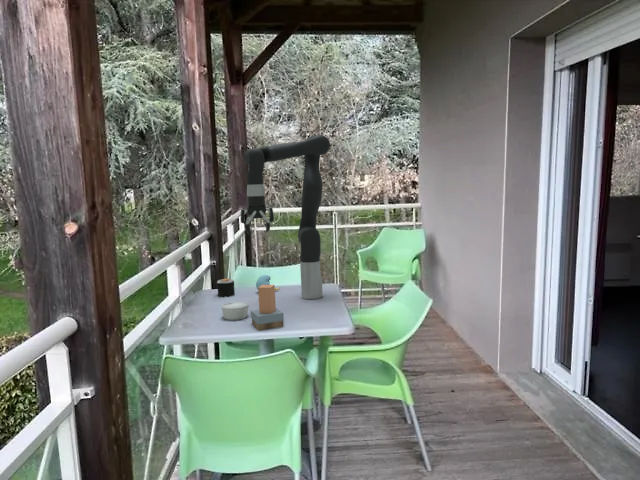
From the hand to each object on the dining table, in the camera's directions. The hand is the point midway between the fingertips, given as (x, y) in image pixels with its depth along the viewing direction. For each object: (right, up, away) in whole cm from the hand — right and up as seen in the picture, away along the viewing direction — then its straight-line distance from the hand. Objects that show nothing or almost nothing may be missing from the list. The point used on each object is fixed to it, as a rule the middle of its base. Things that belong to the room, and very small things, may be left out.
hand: (257, 232), depth 218 cm
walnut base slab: (+7, -37, -25) cm, 45 cm away
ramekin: (-8, -36, -12) cm, 38 cm away
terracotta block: (+7, -31, -25) cm, 41 cm away
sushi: (-19, -31, +29) cm, 46 cm away
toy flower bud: (+1, -30, +31) cm, 43 cm away
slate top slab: (+7, -34, -25) cm, 43 cm away
